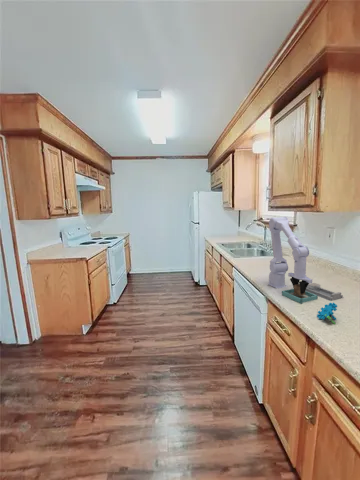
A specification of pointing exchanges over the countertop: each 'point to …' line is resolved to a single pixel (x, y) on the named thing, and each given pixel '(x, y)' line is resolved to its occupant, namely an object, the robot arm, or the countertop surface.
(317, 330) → the countertop surface
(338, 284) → the countertop surface
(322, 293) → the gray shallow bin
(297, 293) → the stop block
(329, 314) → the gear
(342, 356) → the countertop surface
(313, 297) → the tray
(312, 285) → the light grey block
